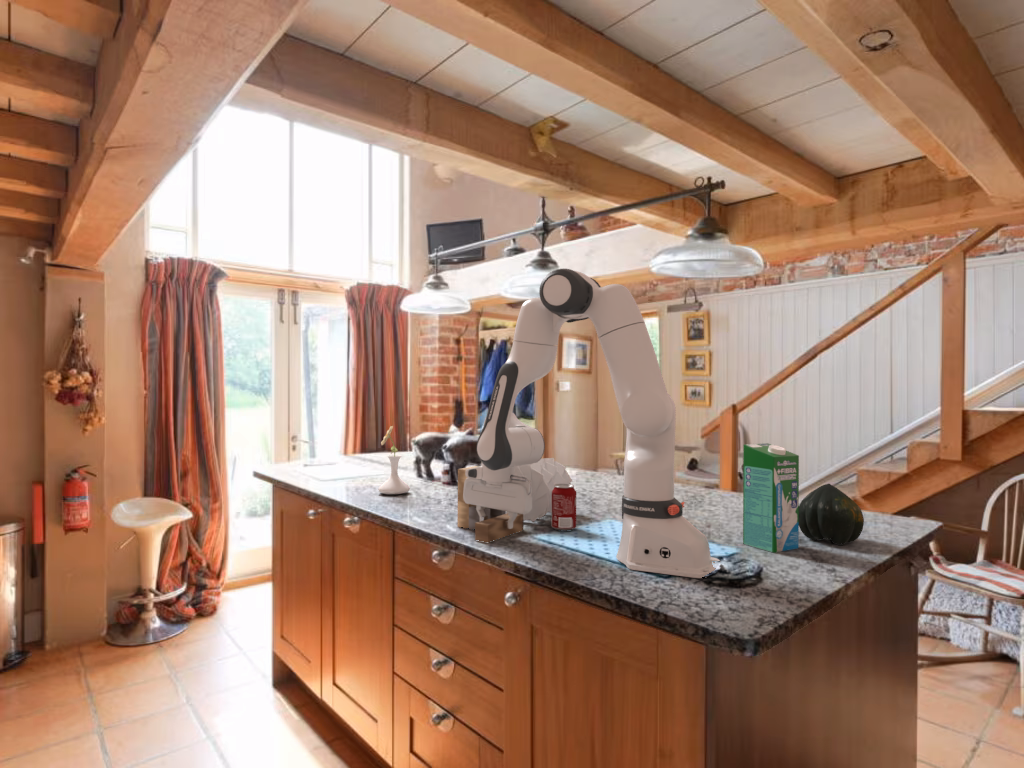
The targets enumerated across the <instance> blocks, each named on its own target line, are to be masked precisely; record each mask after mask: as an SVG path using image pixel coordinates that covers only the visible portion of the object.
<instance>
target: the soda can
mask: <svg viewBox="0 0 1024 768" xmlns="http://www.w3.org/2000/svg"><path fill="white" fill-rule="evenodd" d="M551 528H553V529H554V530H556V531H558V530H560V531H559V532H568V531H567V530H571V531H573V530H574V529H576V528H577V491H576V489H575V485H574V484H555V485H554V489H553V490H552V513H551Z"/></svg>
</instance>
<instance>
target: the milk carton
mask: <svg viewBox="0 0 1024 768" xmlns="http://www.w3.org/2000/svg"><path fill="white" fill-rule="evenodd" d="M742 467H743V469H742V470H743V472H742V473H743V475H742V476H743V480H742V483H743V484H742V485H743V493H742V495H743V496H742V500H743V501H742V502H743V503H742V506H743V507H742V509H743V513H742V515H743V517H742V519H743V520H742V524H743V525H742V534H743V535H742V543H743V545H746V546H750V547H752V548H756V549H759V550H762V551H766V552H769V553H774V554H775V553H780V552H786V551H790V550H791V551H792V550H796V549H799V546H800V543H799V541H800V540H799V537H800V536H799V533H800V532H799V531H800V530H799V529H800V527H799V505H800V503H799V499H800V498H799V493H800V489H799V488H800V487H799V486H800V484H799V482H800V481H799V480H800V475H799V473H800V469H799V467H800V456H799V454H796V453H794V452H791V451H789V450H787V448H786V447H783V446H779V445H776V444H771V443H769V442H767V443H751V444H750V443H749V444H748V443H746V444H743V466H742Z"/></svg>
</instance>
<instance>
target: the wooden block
mask: <svg viewBox="0 0 1024 768" xmlns="http://www.w3.org/2000/svg"><path fill="white" fill-rule="evenodd" d="M508 514H509V513H507V514H504V515H500V516H497V517H493V518H490V519H487V520H483V521H480V522H477V523H475V530H474V541H475V540H479V541H484V542H489V543H491V542H490V541H492V542H494V541H493V540H495V541H497V540H496V539H498V540H500V539H499V538H501V539H503V538H502V537H504V538H506V537H505V536H507V537H509V536H511V535H510V534H512V535H514V534H513V533H515V534H517V533H516V532H518V533H520V532H519V531H521V532H523V531H524V521H523V519H524V514H518V513H517V517H516V518H515V520H514V521H513V528H512V529H507V528H505V521H508V520H509V518H510V516H509V515H508ZM522 530H523V531H522ZM508 535H509V536H508ZM479 541H478V542H479ZM484 542H483V543H484Z"/></svg>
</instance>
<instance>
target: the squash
mask: <svg viewBox="0 0 1024 768" xmlns="http://www.w3.org/2000/svg"><path fill="white" fill-rule="evenodd" d="M864 523H865V519H864V515H863V512H862V509H861V507H860V506H859V505H858V504H857V502H856V501H854V500H853V499H852V498H850V496H848V495H847V494H846V493H844V492H843V491H842V490H841V489H839V488H838V487H836V486H835V485H832V484H831V483H825V484H823V485H821V486H819V487H817V488H815V489H813V490H812V491H810V492H809V493H808V494H807V495H806V496H805V497H804V498H803V499H802V500H801V502H800V503H799V529H800V530H799V531H800V532H801V533H802V535H804V536H805V537H806V538H808V539H809V540H813V541H820V540H821V541H822V540H824V539H825V540H826V541H827V540H828V541H829V540H831V541H832V543H833V544H835V545H838V546H842V545H845V544H849V543H852V542H855V541H856V540H858V538H860V536H861V535H862V534H861V533H862V532H863V529H864Z"/></svg>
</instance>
